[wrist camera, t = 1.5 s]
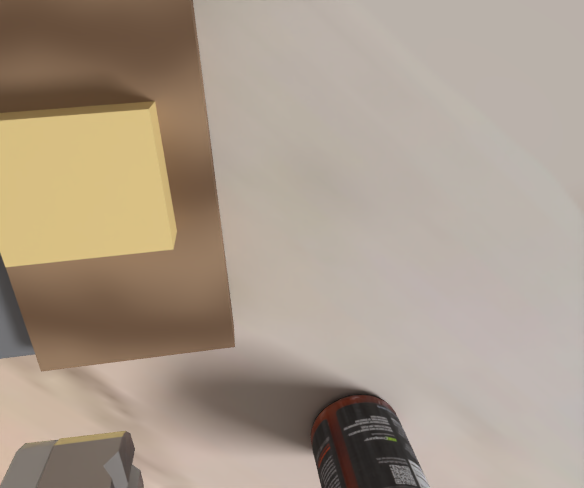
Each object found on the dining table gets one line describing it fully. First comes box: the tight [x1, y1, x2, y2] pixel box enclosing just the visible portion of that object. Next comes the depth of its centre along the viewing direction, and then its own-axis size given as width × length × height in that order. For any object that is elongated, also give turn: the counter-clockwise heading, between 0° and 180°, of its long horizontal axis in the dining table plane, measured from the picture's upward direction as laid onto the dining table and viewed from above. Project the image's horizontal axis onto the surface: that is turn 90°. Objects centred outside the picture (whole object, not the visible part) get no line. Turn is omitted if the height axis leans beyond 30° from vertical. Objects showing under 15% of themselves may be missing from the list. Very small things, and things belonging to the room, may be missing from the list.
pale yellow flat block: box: [0, 101, 177, 267], centre depth 21 cm, size 6×7×2 cm
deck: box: [0, 0, 235, 371], centre depth 23 cm, size 20×10×2 cm, turn 3°
